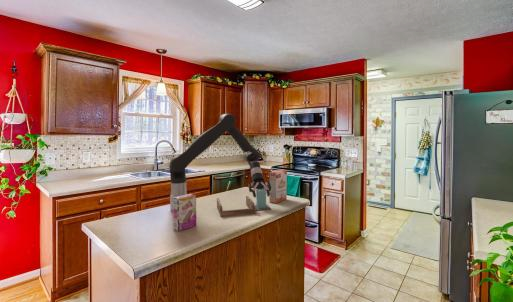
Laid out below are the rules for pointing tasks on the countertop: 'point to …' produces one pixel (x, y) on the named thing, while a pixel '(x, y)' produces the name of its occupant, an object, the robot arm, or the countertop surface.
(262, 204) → the teal block
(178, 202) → the candy bar box
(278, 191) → the cracker box
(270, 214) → the countertop surface
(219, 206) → the lane
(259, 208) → the pad
